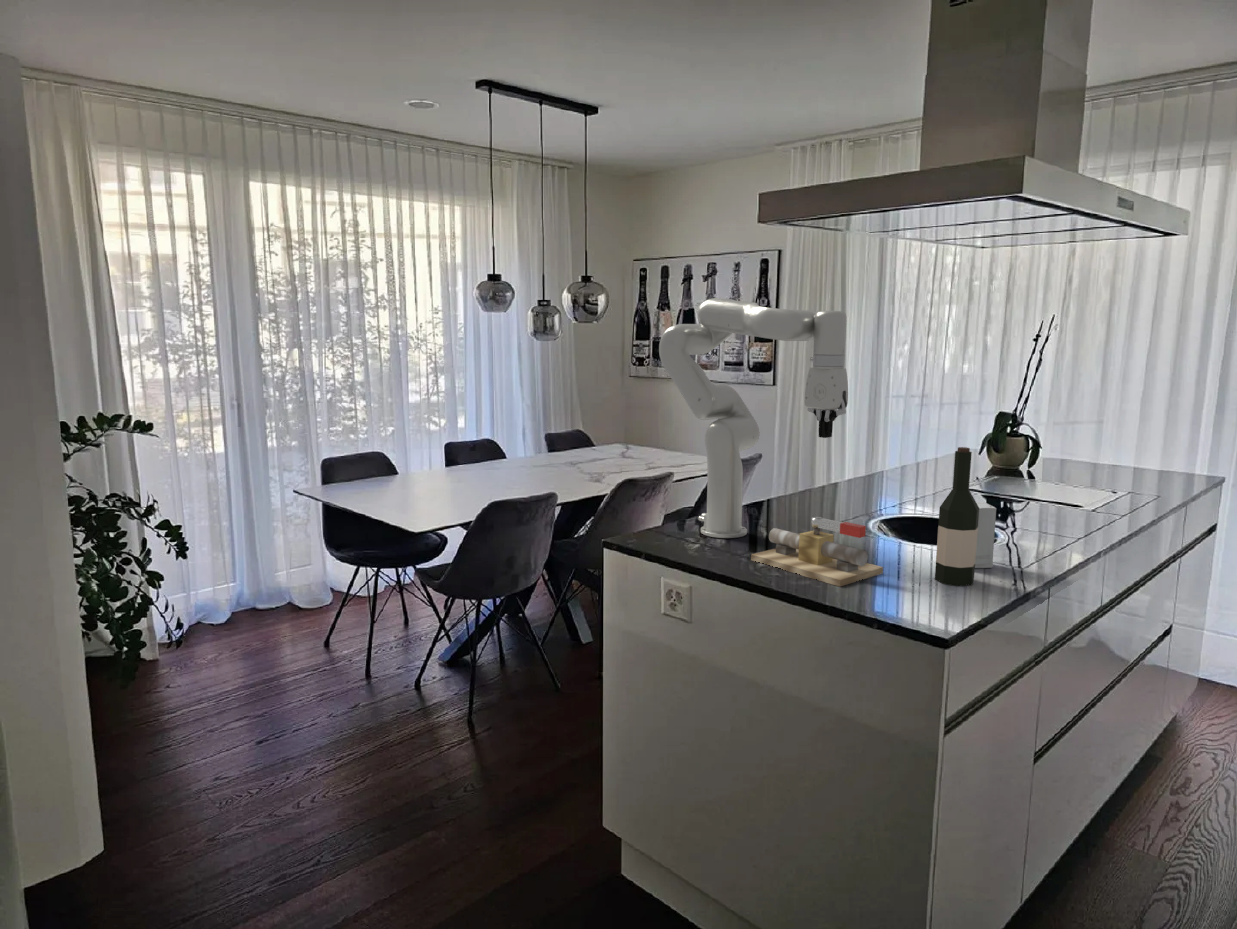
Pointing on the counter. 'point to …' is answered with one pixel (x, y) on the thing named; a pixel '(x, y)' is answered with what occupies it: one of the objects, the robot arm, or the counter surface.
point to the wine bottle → (958, 528)
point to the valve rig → (817, 557)
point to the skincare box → (985, 536)
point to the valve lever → (839, 527)
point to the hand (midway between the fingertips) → (825, 437)
